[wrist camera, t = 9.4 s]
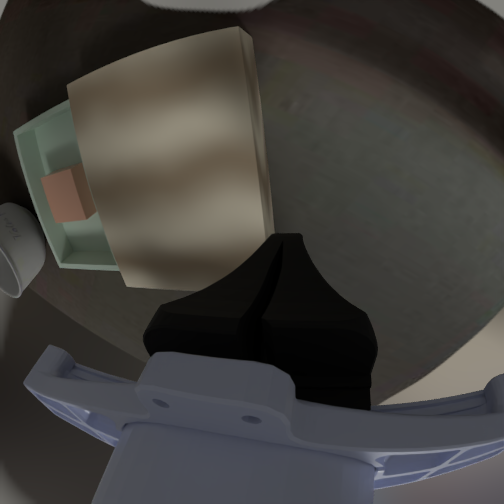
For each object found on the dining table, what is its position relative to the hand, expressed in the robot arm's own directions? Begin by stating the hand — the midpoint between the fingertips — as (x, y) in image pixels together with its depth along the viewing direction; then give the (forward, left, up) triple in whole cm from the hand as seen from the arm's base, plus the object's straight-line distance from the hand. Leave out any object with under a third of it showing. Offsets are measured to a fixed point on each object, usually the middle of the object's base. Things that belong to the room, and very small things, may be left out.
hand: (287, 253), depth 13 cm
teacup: (-2, +35, -10) cm, 36 cm away
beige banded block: (+2, +9, -9) cm, 13 cm away
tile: (+2, +21, -7) cm, 22 cm away
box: (+2, +21, -9) cm, 23 cm away
